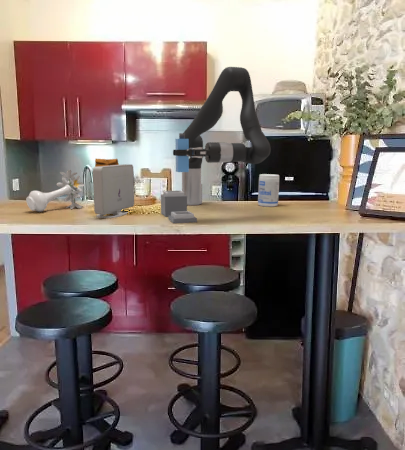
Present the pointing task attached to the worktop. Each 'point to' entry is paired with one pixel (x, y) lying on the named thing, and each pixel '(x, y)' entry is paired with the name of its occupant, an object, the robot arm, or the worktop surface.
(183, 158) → the blue plug
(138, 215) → the worktop surface
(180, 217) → the plate
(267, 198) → the supplement tub
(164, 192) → the grey block
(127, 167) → the network device
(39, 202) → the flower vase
